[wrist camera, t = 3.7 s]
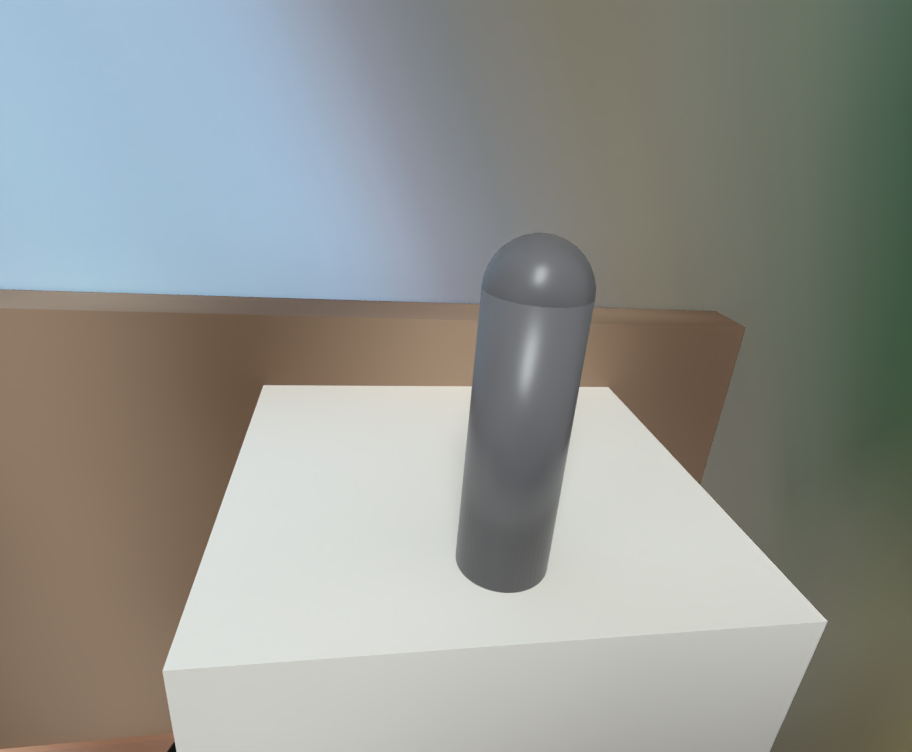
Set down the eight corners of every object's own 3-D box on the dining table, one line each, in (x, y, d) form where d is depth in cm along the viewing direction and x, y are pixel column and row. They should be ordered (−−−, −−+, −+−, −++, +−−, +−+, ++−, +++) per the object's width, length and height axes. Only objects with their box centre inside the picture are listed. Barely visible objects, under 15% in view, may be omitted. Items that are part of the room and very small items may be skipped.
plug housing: (286, 765, 11) (245, 1142, 7) (249, 167, 7) (85, 242, 3) (538, 740, 12) (631, 1063, 8) (646, 194, 8) (977, 281, 4)
